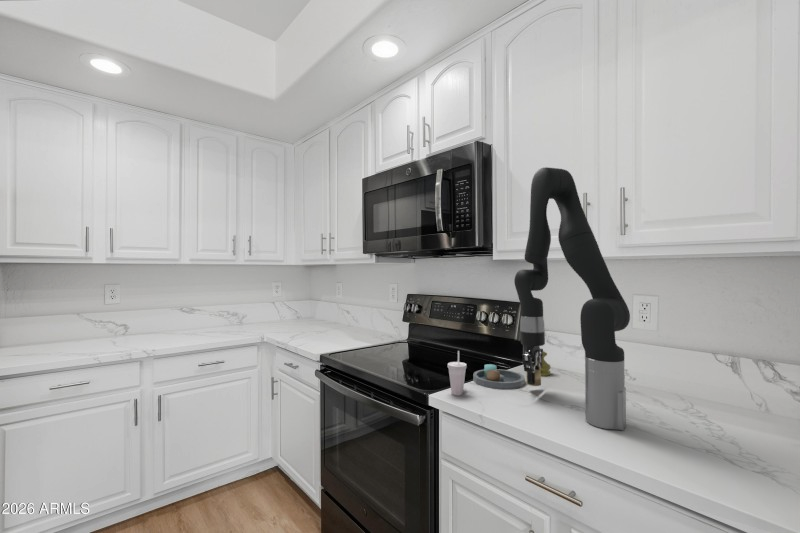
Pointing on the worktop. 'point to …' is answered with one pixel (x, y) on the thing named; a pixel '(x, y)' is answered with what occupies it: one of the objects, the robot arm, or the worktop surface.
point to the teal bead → (489, 367)
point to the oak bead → (537, 378)
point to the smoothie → (457, 376)
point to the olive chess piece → (545, 366)
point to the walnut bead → (493, 375)
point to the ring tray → (506, 380)
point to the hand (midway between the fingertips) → (533, 382)
